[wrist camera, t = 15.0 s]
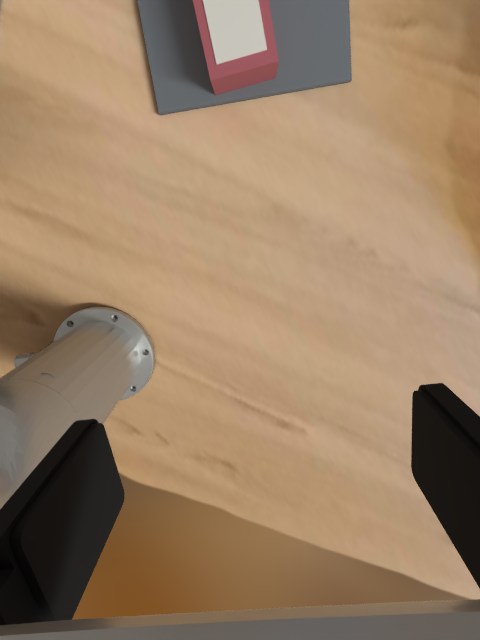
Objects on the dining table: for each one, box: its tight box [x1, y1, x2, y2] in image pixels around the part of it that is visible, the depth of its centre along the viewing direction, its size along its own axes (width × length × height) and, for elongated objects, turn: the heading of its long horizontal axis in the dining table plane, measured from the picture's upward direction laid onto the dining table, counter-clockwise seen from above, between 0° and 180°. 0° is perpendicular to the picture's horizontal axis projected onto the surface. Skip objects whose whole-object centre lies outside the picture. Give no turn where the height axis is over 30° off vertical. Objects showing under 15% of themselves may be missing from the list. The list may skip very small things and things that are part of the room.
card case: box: [193, 0, 279, 95], centre depth 29 cm, size 9×6×4 cm, turn 13°
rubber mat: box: [137, 0, 352, 115], centre depth 32 cm, size 19×12×1 cm, turn 98°
